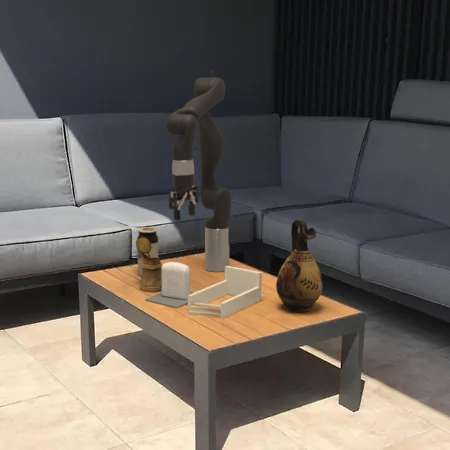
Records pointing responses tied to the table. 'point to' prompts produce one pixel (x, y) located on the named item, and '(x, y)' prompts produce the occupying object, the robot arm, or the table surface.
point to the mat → (168, 300)
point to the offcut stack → (205, 310)
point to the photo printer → (175, 280)
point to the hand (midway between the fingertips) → (184, 217)
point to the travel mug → (153, 238)
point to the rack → (232, 291)
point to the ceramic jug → (299, 272)
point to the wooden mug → (149, 267)
